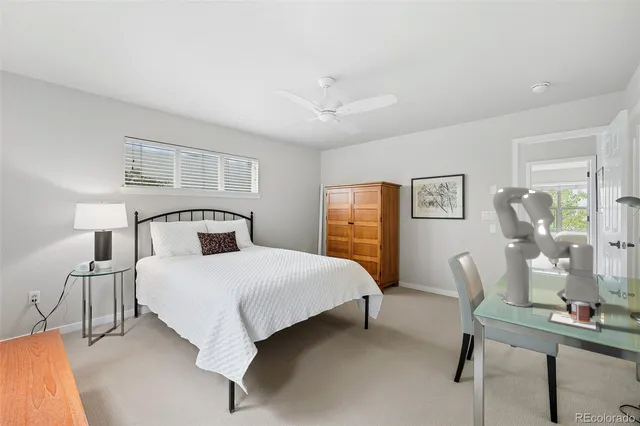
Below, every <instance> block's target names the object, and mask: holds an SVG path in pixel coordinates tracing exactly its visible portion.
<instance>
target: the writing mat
mask: <svg viewBox="0 0 640 426" xmlns="http://www.w3.org/2000/svg"><path fill="white" fill-rule="evenodd" d="M547 322H548V323H553V324H559V325H562V326H567V327H573V328H578V329H581V328H582V329H583V330H586V329H588V331H591V330H592V331H591V332H597V333H600V332H601V331H600V321H599V320H591V319H590V323H579V322H575V321H573V320H571V315H565V314H561V313H555V312H550V314H549V316H548V318H547Z"/></svg>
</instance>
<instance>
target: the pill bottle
mask: <svg viewBox="0 0 640 426" xmlns="http://www.w3.org/2000/svg"><path fill="white" fill-rule="evenodd" d="M570 304H571V314H570V316H571V320H573V321H575V322H579V323H590V320H591V318H590V307H591V306H590V303H589V302H585V301H579V300H573V299H572V300H571V302H570Z"/></svg>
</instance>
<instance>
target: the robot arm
mask: <svg viewBox="0 0 640 426" xmlns="http://www.w3.org/2000/svg"><path fill="white" fill-rule="evenodd" d="M492 199H493V200H492V204H493V207H494V209H495V212H496V215H497V218H498V222H499V225H500V229H501V233H502V234H503V237H504V238H506V239H508V240H518V241H511V242H509V243H508V244H506V246H504V256H505V261H506V262H505V263H506V292H505V291H504V292H502V291H497V292H496V296H498V297H501V298H502V297H503V299H502V301H503V303H505V304H507V303H508V304H507V305H510V304H511V306H514V305H515V307H524V308H525V307H526V308H529V307H533V302H532V301H531V300H530V267H529V265H528V262H527V261H528V260H535V259H537V258H539V257H540V255H541V253H542V254H543V256H545V257H546V258H548V259H552V260H553V259H554V260H557V259H568V260H569V264H568V265H569V266H568V268H564V272H565V273H567V275H566V277H565V283H564V284H565V285H564V288H563V289H561V290H560V291H558V292H557V293H556V295H557V296H558V297H559V299H561V300H562V301H563V302H564V303H565V304H566V312H567V313H568V315H571V300H572V299H573V300H579V301H585V302H589V303H590V305H591V306H590V319H593V318H594V317H596V309H597V308H599V307H601V306H602V305H604V304H605V303H607V300H606V299H605V298H604V297H603V296H601V294H600V293H599V294H598V293H597V285H598V284H597V278H596V277H594V250H595V249H594V246H593V245H592V244H589V243H581V242H580V243H577V242H571V241H569V240H568V241H566V240H559V241H556V240H555V239H554V238H553V236H552V234H551V231H550V228H551V227H550V226H551V225H552V223H553V222H555V220H556V217H555V215H554V214H553V213H552V211H551V209H550V208H551V207H552V205H554V203H553V202H554V199H553V196H552V195H551V194H549V193H548V192H545V191H539V190H536V189H533V188H528V187H517V186H516V187H515V186H512V187H511V186H507V187H505V186H504V187H501V188H499V189H497V191H496V192H495V193H494V195H493V198H492ZM512 204H522V206H523V208H524V210H525V212H526V213H527V216H528V217H529V218H530V221H531V222H532V224H531V223H530V222H529V221H525V220H519V217H518V213H517V211H516V209H514V207H513V206H512ZM563 294H564V295H563ZM597 298H598V299H599V302H597ZM594 302H597V303H594Z"/></svg>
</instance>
